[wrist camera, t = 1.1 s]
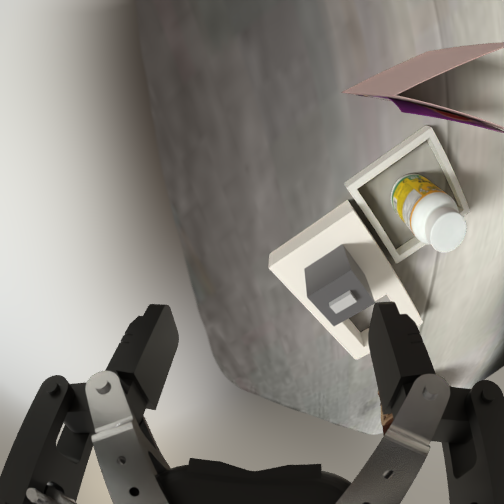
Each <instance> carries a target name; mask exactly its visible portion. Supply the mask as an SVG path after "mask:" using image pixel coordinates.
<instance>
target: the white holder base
mask: <svg viewBox="0 0 504 504" xmlns="http://www.w3.org/2000/svg"><path fill="white" fill-rule="evenodd" d="M268 268H269V269H270V270H271V271H272V272H273V273H274V274H275V275H276V276H277V277H278V278H279V279H280V281H281V282H282V283H283V284H284V285H285V286H286V287H287V288H288V289H289V290H290V291H291V292H292V293H293V294H294V295H295V296H296V297H297V298H298V300H299V301H300V302H301V303H302V304H303V305H304V306H305V307H306V308H307V309H308V310H309V311H310V312H311V313H312V314H313V315H314V316H315V317H316V319H317V320H318V321H319V322H320V323H321V324H322V325H323V326H324V327H325V328H326V329H327V330H328V331H329V332H330V333H331V334H332V335H333V336H334V338H335V339H336V340H337V341H338V342H339V343H340V344H341V345H342V346H343V347H344V348H345V349H346V350H347V351H348V352H349V353H350V354H351V355H352V357H353V358H354V359H355V360H357V359H359V358H361V357H363V356H365V355H367V354H369V353H370V349H369V344H368V332H369V328H368V329H366V330H364V331H362V332H360V331H359V330H358V329H357V328H356V326H355V325H354V324H353V323H352V322H351V320H350V319H349V318H350V317H352V316H354V315H355V314H357V313H359V312H361V311H362V310H364V309H366V308H367V307H369V306H371V305H373V304H374V303H375V301H376V300H378V299H379V298H381V297H382V296H384V295H386V294H387V296H388V297H389V299H390V300H391V302H395V303H396V306H397V308H398V311H399V313H400V314H407V315H408V316H409V317H410V318H411V319H412V320H413V321H414V322H415V323H416V325H417V326H419V325H420V324H422V323H423V321H422V319H421V317H420V314H419V312H418V310H417V308H416V306H415V305H414V303H413V301H412V299H411V298H410V296H409V294H408V292H407V291H406V289H405V287H404V286H403V284H402V282H401V281H400V279H399V277H398V276H397V274H396V272H395V271H394V269H393V267H392V266H391V264H390V262H389V261H388V259H387V258H386V256H385V255H384V253H383V251H382V250H381V248H380V247H379V245H378V244H377V242H376V241H375V239H374V237H373V236H372V234H371V233H370V231H369V230H368V228H367V227H366V225H365V224H364V223H363V221H362V220H361V218H360V217H359V215H358V214H357V212H356V211H355V209H354V208H353V207H352V205H351V204H350V202H349V201H348V200H346V201H345V202H344V203H342V204H341V205H339V206H338V207H336V208H335V209H334V210H332V211H331V212H329V213H328V214H326V215H325V216H324V217H322V218H321V219H319V220H318V221H316V222H315V223H313V224H312V225H311V226H309V227H308V228H306V229H305V230H303V231H302V232H300V233H299V234H298V235H296V236H295V237H293V238H292V239H290V240H289V241H287V242H286V243H285V244H283V245H282V246H280V247H279V248H277V249H276V250H274V251H273V252H271V253H270V254H269V266H268Z"/></svg>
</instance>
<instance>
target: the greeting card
mask: <svg viewBox="0 0 504 504" xmlns="http://www.w3.org/2000/svg"><path fill="white" fill-rule="evenodd" d="M502 48H504V42H503V43H488V44H478V45H468V46H460V47H453V48H446V49H440V50H434V51H428V52H425V53H423V54H421V55H418V56H416V57H414V58H411V59H409V60H407V61H405V62H402V63H400V64H398V65H396V66H394V67H392V68H389V69H387V70H385V71H383V72H381V73H379V74H377V75H375V76H373V77H371V78H369V79H367V80H365V81H363V82H361V83H359V84H357V85H355V86H353V87H351V88H349V89H347V90H345V91H343V92H342V93H348V94H355V95H359V96H366V97H372V98H378V99H383V100H389V101H393V102H394V103H395V104H396V105H397V106H398V107H399V109H400V110H401V112H404V113H411V114H418V115H424V116H430V117H436V118H441V119H446V120H451V121H456V122H461V123H465V124H470V125H474V126H478V127H482V128H486V129H490V130H494V131H497V132H501V133H504V131H502V130H500V129H503V130H504V127H502V126H499V125H497V124H494V123H491V122H489V121H486V120H483V119H480V118H477V117H474V116H471V115H468V114H465V113H462V112H459V111H456V110H452V109H449V108H445V107H442V106H438V105H435V104H431V103H427V102H423V101H419V100H415V99H410V98H406V97H401V96H397V94H399V93H401V92H403V91H405V90H407V89H409V88H411V87H414V86H416V85H418V84H420V83H422V82H424V81H426V80H428V79H431V78H433V77H435V76H437V75H439V74H442V73H444V72H446V71H448V70H451V69H453V68H455V67H457V66H460V65H462V64H464V63H467V62H469V61H471V60H474V59H476V58H479V57H481V56H484V55H486V54H489V53H491V52H494V51H496V50H499V49H502ZM493 126H494V127H493ZM496 127H497V128H496ZM498 128H500V129H498Z"/></svg>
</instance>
